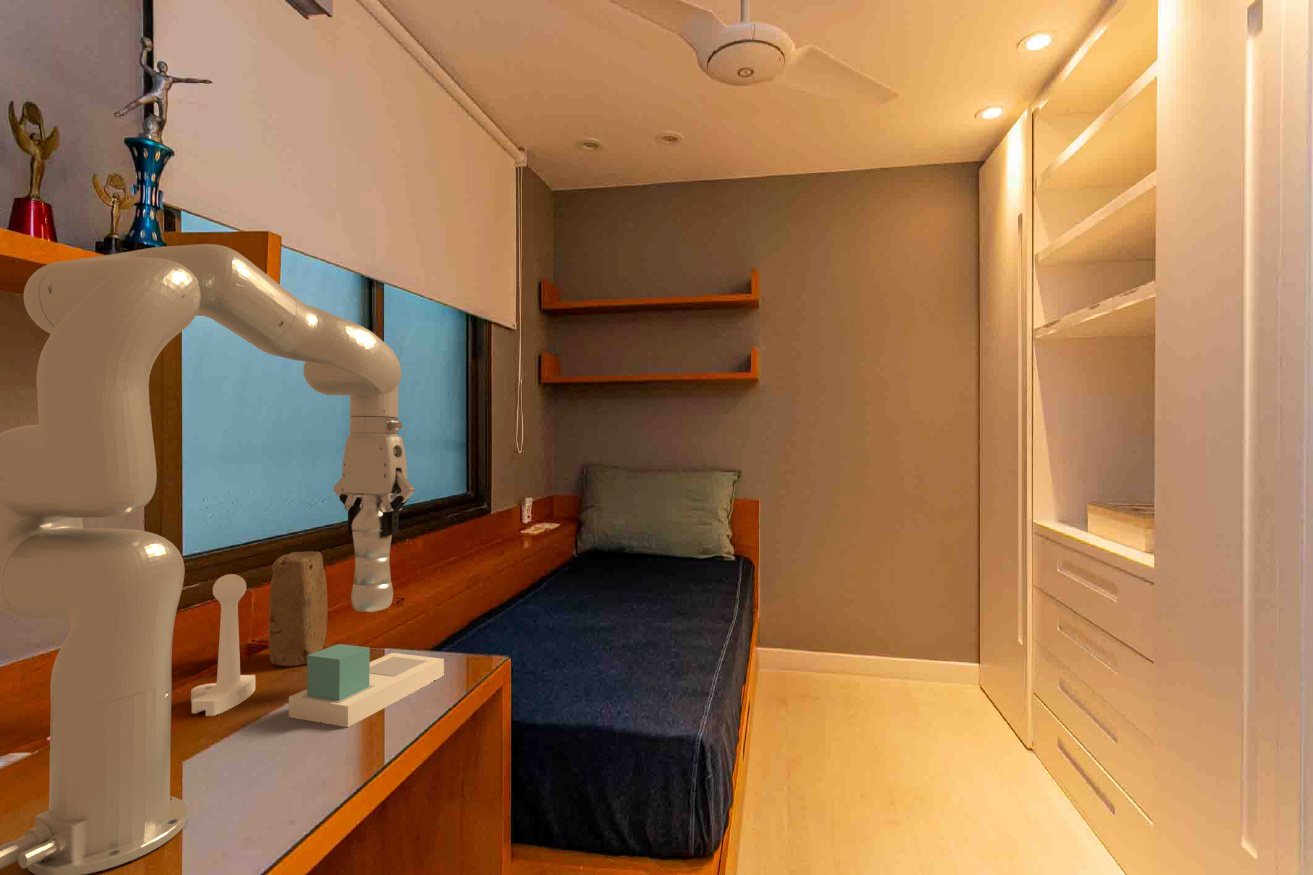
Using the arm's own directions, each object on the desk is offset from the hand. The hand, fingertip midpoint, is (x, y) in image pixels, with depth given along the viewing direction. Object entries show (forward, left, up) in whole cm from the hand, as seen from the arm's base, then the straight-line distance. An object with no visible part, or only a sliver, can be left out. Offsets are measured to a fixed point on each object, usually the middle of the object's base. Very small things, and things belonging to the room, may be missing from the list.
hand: (373, 533), depth 111 cm
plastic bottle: (0, 0, -13) cm, 13 cm away
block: (+6, +23, -26) cm, 35 cm away
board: (-4, -3, -26) cm, 26 cm away
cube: (-11, -3, -22) cm, 25 cm away
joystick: (-14, +18, -26) cm, 34 cm away
